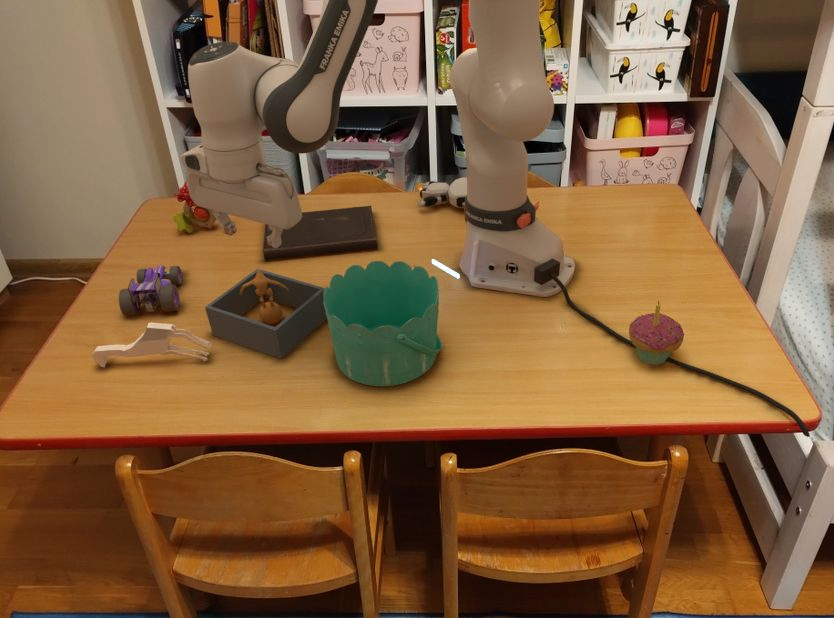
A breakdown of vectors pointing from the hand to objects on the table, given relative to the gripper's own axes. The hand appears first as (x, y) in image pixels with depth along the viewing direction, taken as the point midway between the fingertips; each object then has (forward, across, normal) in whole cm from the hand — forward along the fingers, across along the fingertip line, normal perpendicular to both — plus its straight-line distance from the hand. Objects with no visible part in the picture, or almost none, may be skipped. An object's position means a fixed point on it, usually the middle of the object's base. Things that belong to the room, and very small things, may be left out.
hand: (252, 239), depth 117 cm
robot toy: (+17, -7, -56) cm, 59 cm away
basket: (+17, -23, -2) cm, 29 cm away
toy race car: (+18, +26, +2) cm, 31 cm away
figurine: (+18, 0, 0) cm, 18 cm away
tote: (+17, 0, 0) cm, 17 cm away
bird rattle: (+18, +38, -22) cm, 47 cm away
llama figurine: (+18, +11, +17) cm, 27 cm away
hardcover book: (+17, +11, -30) cm, 37 cm away
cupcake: (+17, -62, -21) cm, 68 cm away
